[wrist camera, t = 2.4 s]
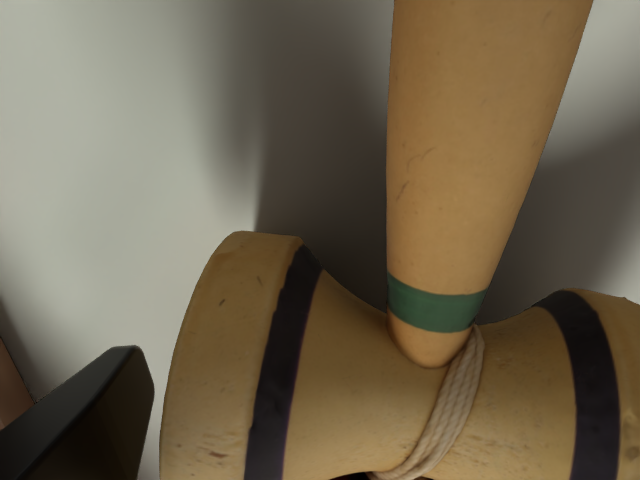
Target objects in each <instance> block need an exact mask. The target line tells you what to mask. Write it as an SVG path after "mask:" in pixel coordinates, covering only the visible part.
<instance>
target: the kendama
mask: <svg viewBox="0 0 640 480" xmlns="http://www.w3.org/2000/svg"><path fill="white" fill-rule="evenodd" d="M592 3H593V0H394V13H393V26H392V41H391V56H390V73H389V92H388V112H387V148H386V156H387V158H386V192H387V193H386V194H387V212H386V219H387V222H386V232H387V281H388V285H387V302H386V304H387V314H386V313H384V312H382V311H380V310H378V309H376V308H374V307H373V306H371V305H369V304H367V303H366V302H364V301H362V300H361V299H359V298H358V297H356V296H355V295H353V294H352V293H351V292H350V291H348V290H347V289H346V288H344V287H343V286H342V285H341V284H339V283H338V282H337V281H336V280H335V279H334V278H333V277H332V276H331V275H330V274H329V273H328V272H327V271H326V270H325V269H324V268H323V267H322V266H321V264H320V263H319V262H318V261H317V259H316V258H315V257H314V255H313V254H312V253H311V252H310V250H309V249H308V248H307V247H306V246H305V244H304V242H303V241H302V239H301V238H300V237H297V236H290V235H279V234H269V233H261V232H252V231H237V232H233V233H232V234H230V235H229V236H227V237H226V238H225V239H224V240H223V242H222V243H221V244H220V245H219V246H218V248H217V249H216V250H215V251H214V253H213V254H212V255H211V257H210V259H209V261H208V263H207V264H206V266H205V268H204V270H203V272H202V274H201V276H200V278H199V280H198V282H197V284H196V286H195V290H194V292H193V294H192V297H191V300H190V303H189V305H188V308H187V310H186V313H185V316H184V319H183V322H182V325H181V328H180V332H179V335H178V338H177V342H176V345H175V349H174V352H173V357H172V362H171V366H170V371H169V376H168V382H167V388H166V392H165V397H164V405H163V414H162V422H161V430H160V439H159V468H160V480H640V305H639V304H636V303H634V302H632V301H629V300H627V299H626V298H625V297H615V296H611V295H606V294H602V293H598V292H593V291H589V290H584V289H576V288H566V289H562V290H559V291H556V292H554V293H552V294H550V295H549V296H548V297H546V298H544V299H542V300H541V301H539V302H537V303H536V304H534V305H532V306H531V308H528V309H526V310H525V311H524V312H522V313H520V314H518V315H515V316H513V317H510V318H507V319H505V320H502V321H499V322H495V323H490V324H485V325H476V324H475V323H474V320H475V316H476V315H477V314H478V311H479V309H480V307H481V304H482V302H483V300H484V297H485V295H486V292H487V290H488V288H489V285H490V282H491V280H492V277H493V275H494V273H495V270H496V268H497V266H498V263H499V261H500V259H501V256H502V253H503V251H504V248H505V246H506V244H507V241H508V239H509V236H510V234H511V232H512V229H513V227H514V224H515V221H516V218H517V216H518V213H519V211H520V208H521V206H522V204H523V201H524V199H525V196H526V194H527V191H528V189H529V186H530V184H531V181H532V178H533V176H534V173H535V170H536V168H537V165H538V162H539V160H540V157H541V154H542V152H543V149H544V146H545V144H546V141H547V138H548V135H549V133H550V130H551V127H552V125H553V122H554V119H555V116H556V113H557V110H558V107H559V104H560V102H561V99H562V96H563V93H564V90H565V87H566V84H567V81H568V78H569V75H570V72H571V69H572V66H573V63H574V60H575V57H576V54H577V51H578V48H579V45H580V42H581V39H582V35H583V32H584V29H585V25H586V22H587V19H588V16H589V13H590V10H591V7H592Z"/></svg>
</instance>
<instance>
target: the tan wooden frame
mask: <svg viewBox="0 0 640 480" xmlns="http://www.w3.org/2000/svg"><path fill="white" fill-rule="evenodd" d="M33 405H35V404H34V402H33V400H32V398H31V396H30V394H29V392H28V390H27V389H26V387H25V385H24V383H23V381H22V379H21V377H20V375H19V373H18V371H17V369H16V367H15V365H14V363H13V361H12V359H11V357H10V355H9V353H8V351H7V349H6V347H5V346H4V344H3V342H2V340H1V338H0V430H1V429H3V428H4V427H5V426H7V425H8V424H9V423H11V422H12V421H13V420H15V419H16V418H17V417H19V416H20V415H21V414H23V413H24V412H25V411H27V410H28V409H29V408H31V407H32V406H33Z"/></svg>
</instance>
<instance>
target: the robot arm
mask: <svg viewBox="0 0 640 480" xmlns="http://www.w3.org/2000/svg"><path fill="white" fill-rule="evenodd" d="M154 394H155V390H154V383H153V380H152V377H151V374H150V371H149V368H148V365H147V362H146V359H145V356H144V353H143V351H142V349H141V348H140V347H139V346H136V345H129V346H116V347H112V348H110V349H109V350H107V351H106V352H104V353H103V354H102V355H100V356H99V357H98V358H96V359H95V360H94V361H92V362H91V363H90V364H88V365H87V366H86V367H84V368H83V369H82V370H80V371H79V372H78V373H76V374H75V375H74V376H72V377H71V378H70V379H68V380H67V381H66V382H64V383H63V384H62V385H60V386H59V387H57V388H56V389H55V390H53V391H52V392H51V393H49V394H48V395H47V396H45V397H44V398H43V399H41V400H40V401H39V402H37V403H36V404H35V405H33V406H32V407H31V408H29V409H28V410H27V411H25V412H24V413H23V414H21V415H20V416H19V417H17V418H16V419H15V420H13V421H12V422H11V423H9V424H8V425H7V426H5V427H4V428H3V429H1V430H0V480H137V477H138V472H139V467H140V463H141V458H142V453H143V449H144V444H145V439H146V434H147V430H148V425H149V420H150V415H151V411H152V406H153V401H154Z"/></svg>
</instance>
